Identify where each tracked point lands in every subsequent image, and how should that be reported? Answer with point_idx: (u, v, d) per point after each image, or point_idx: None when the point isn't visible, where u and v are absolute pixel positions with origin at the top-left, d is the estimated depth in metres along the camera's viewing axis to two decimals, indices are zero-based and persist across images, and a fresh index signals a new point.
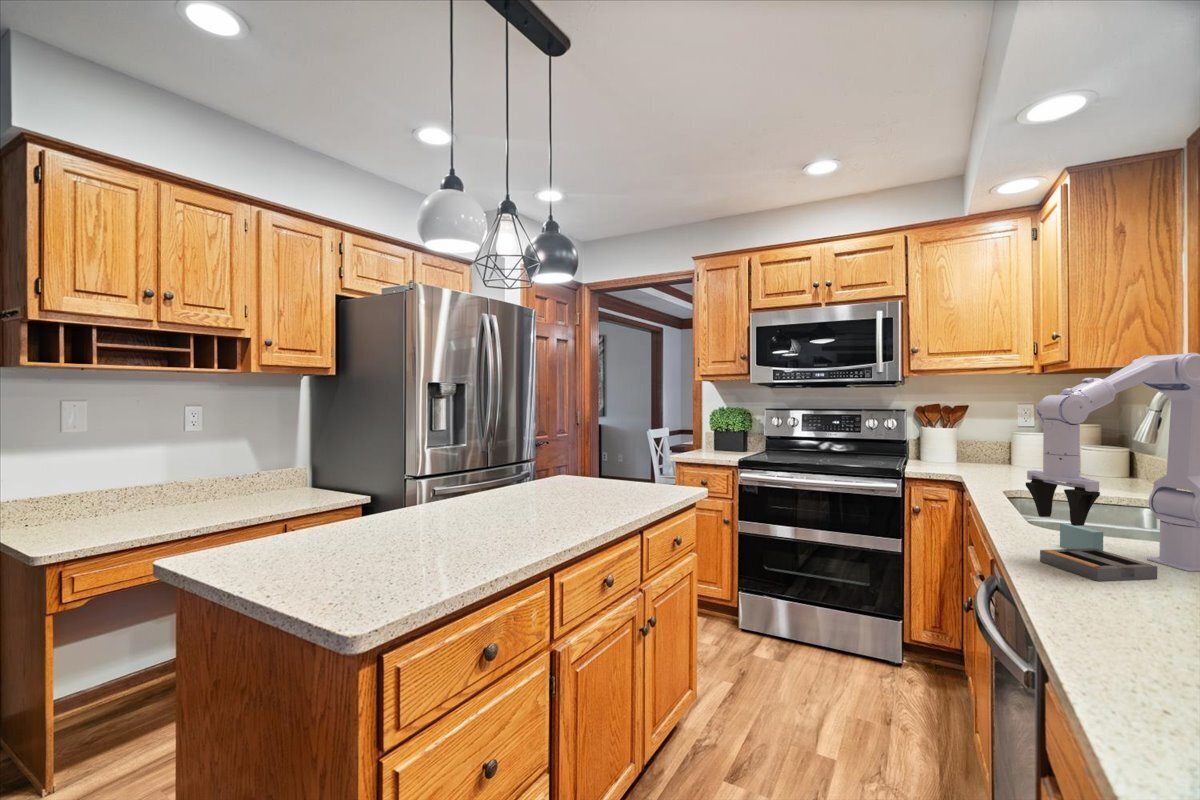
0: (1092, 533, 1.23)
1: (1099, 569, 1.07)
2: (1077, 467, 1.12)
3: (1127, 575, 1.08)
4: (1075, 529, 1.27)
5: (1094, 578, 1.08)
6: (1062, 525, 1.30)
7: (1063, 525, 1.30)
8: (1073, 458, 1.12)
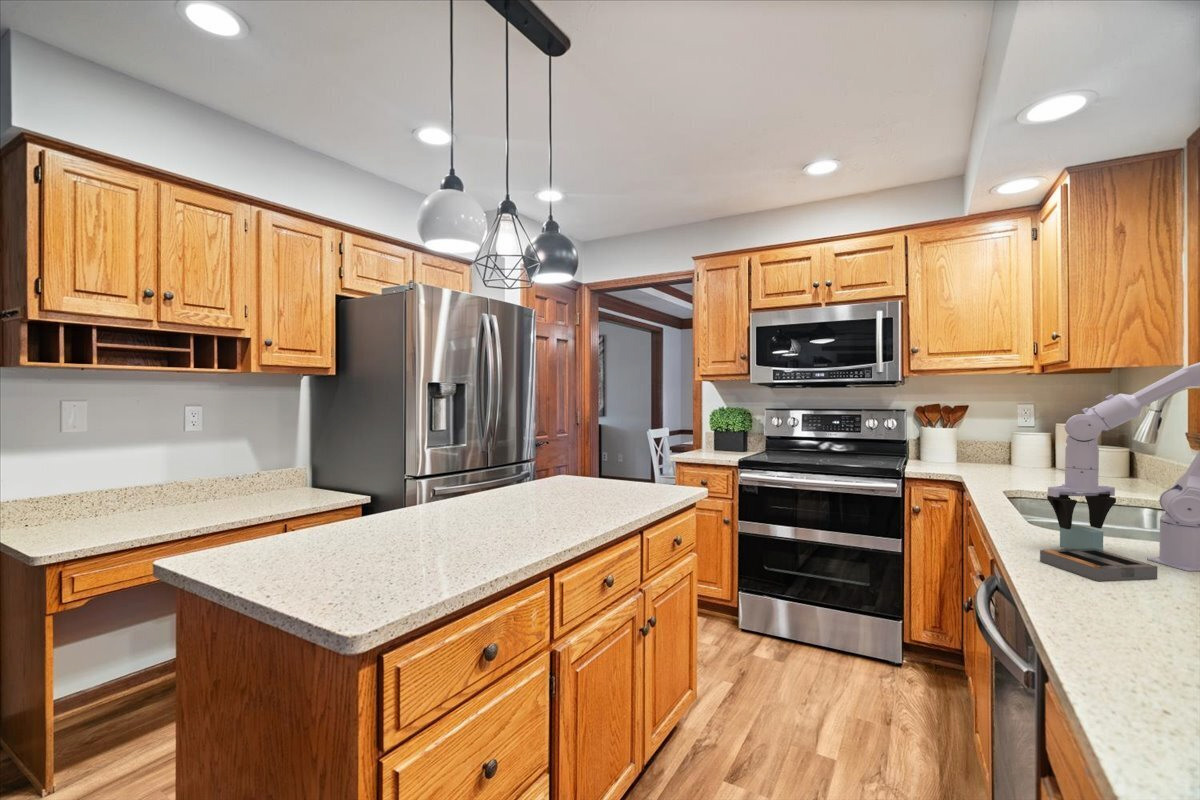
0: (1092, 533, 1.23)
1: (1099, 569, 1.07)
2: (1074, 479, 1.26)
3: (1127, 575, 1.08)
4: (1075, 529, 1.27)
5: (1094, 578, 1.08)
6: None
7: None
8: (1069, 470, 1.26)
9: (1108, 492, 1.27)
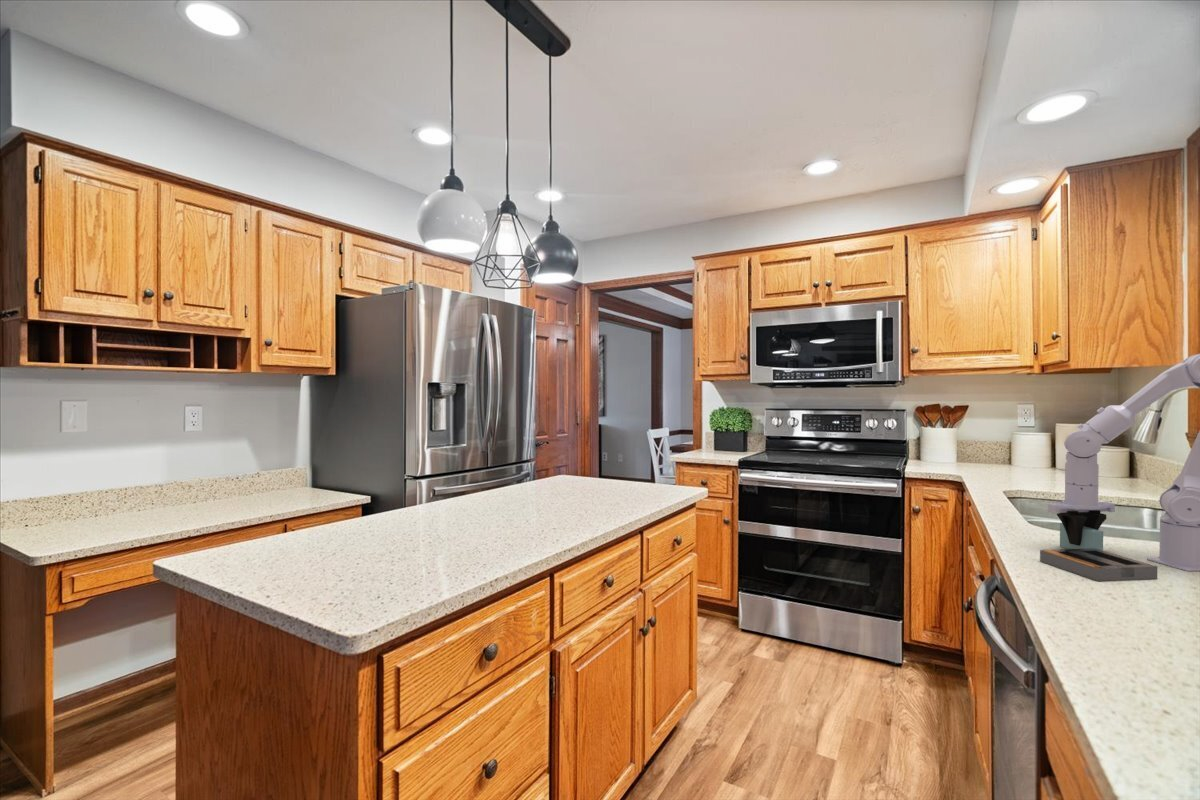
0: (1092, 532, 1.23)
1: (1099, 569, 1.07)
2: (1074, 495, 1.26)
3: (1127, 575, 1.08)
4: None
5: (1094, 578, 1.08)
6: (1062, 525, 1.30)
7: None
8: (1069, 486, 1.27)
9: (1108, 508, 1.27)
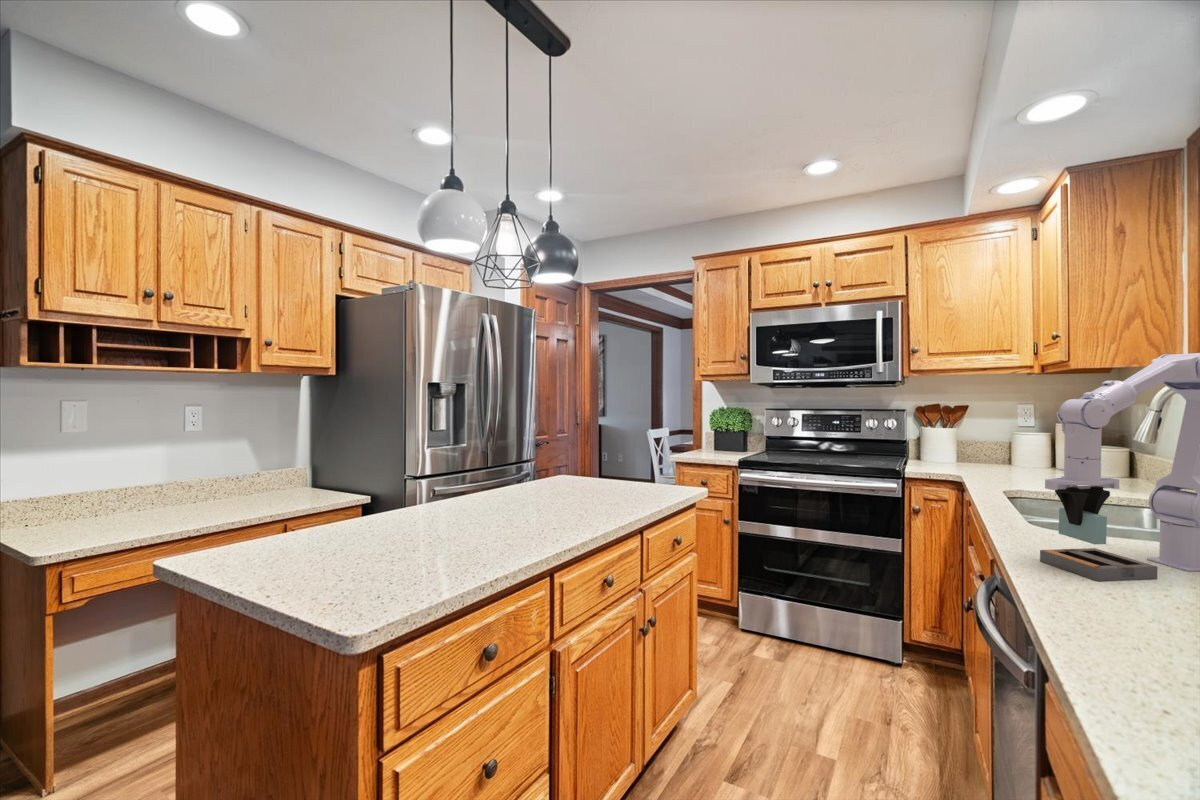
0: (1094, 518, 1.11)
1: (1099, 569, 1.07)
2: (1074, 470, 1.14)
3: (1127, 575, 1.08)
4: None
5: (1094, 578, 1.08)
6: (1062, 509, 1.18)
7: (1063, 509, 1.18)
8: (1069, 460, 1.15)
9: (1112, 485, 1.15)
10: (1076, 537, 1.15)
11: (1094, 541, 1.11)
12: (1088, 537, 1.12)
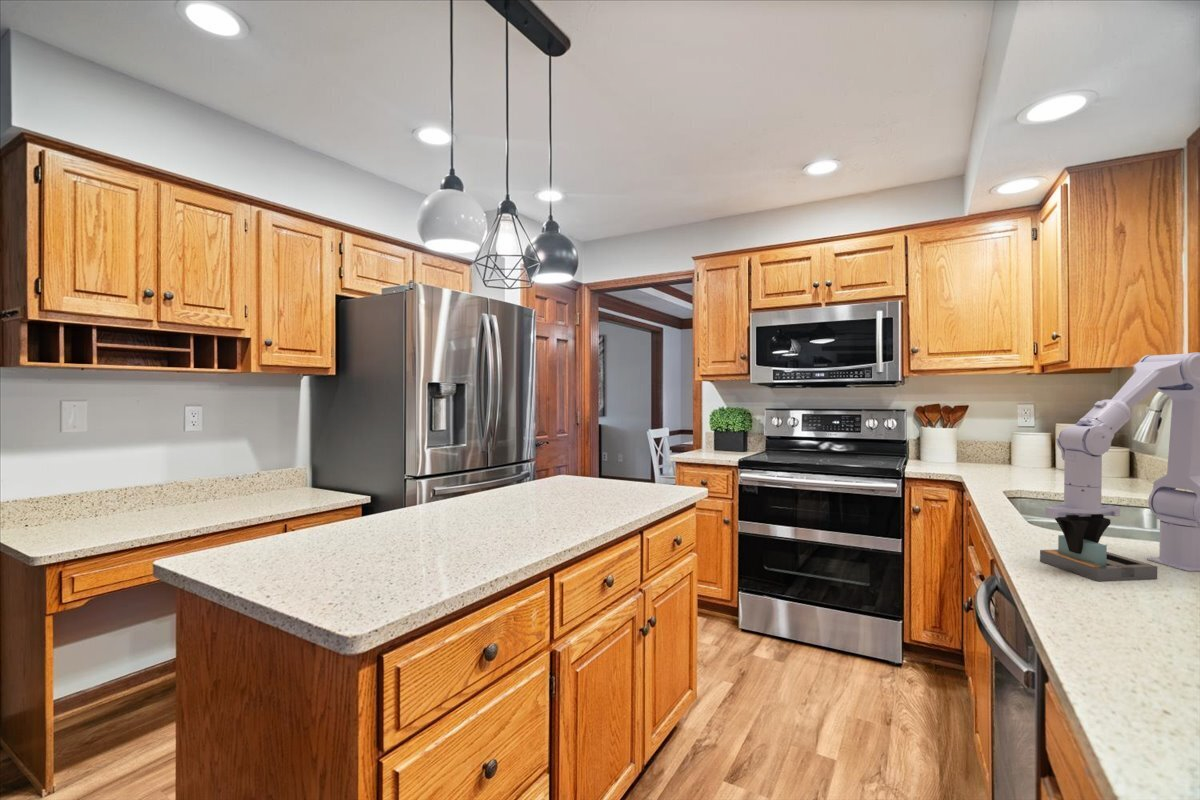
0: (1094, 547, 1.10)
1: (1099, 569, 1.07)
2: (1074, 498, 1.12)
3: (1127, 575, 1.08)
4: None
5: (1094, 578, 1.08)
6: (1061, 537, 1.17)
7: (1062, 537, 1.17)
8: (1069, 488, 1.13)
9: (1112, 512, 1.14)
10: None
11: None
12: None
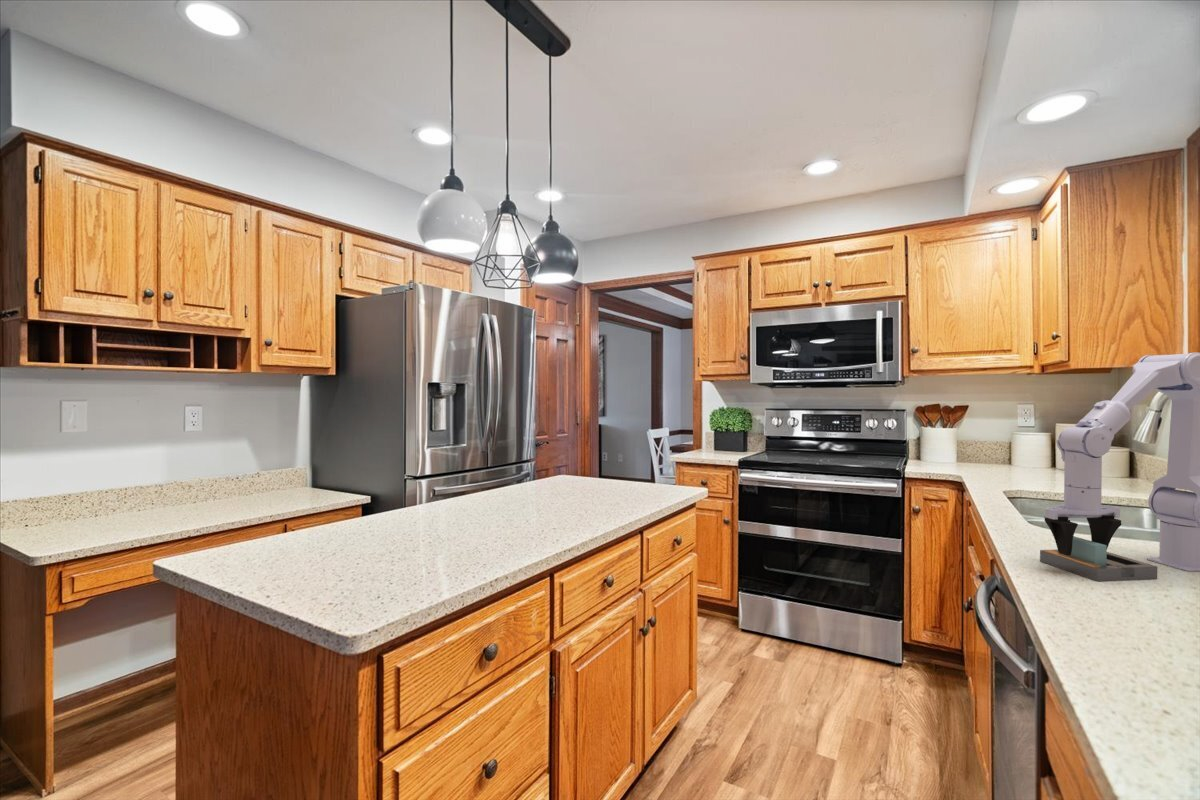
0: (1094, 547, 1.10)
1: (1099, 569, 1.07)
2: (1074, 499, 1.12)
3: (1127, 575, 1.08)
4: (1075, 542, 1.14)
5: (1094, 578, 1.08)
6: None
7: None
8: (1069, 489, 1.13)
9: (1112, 513, 1.14)
10: None
11: None
12: None
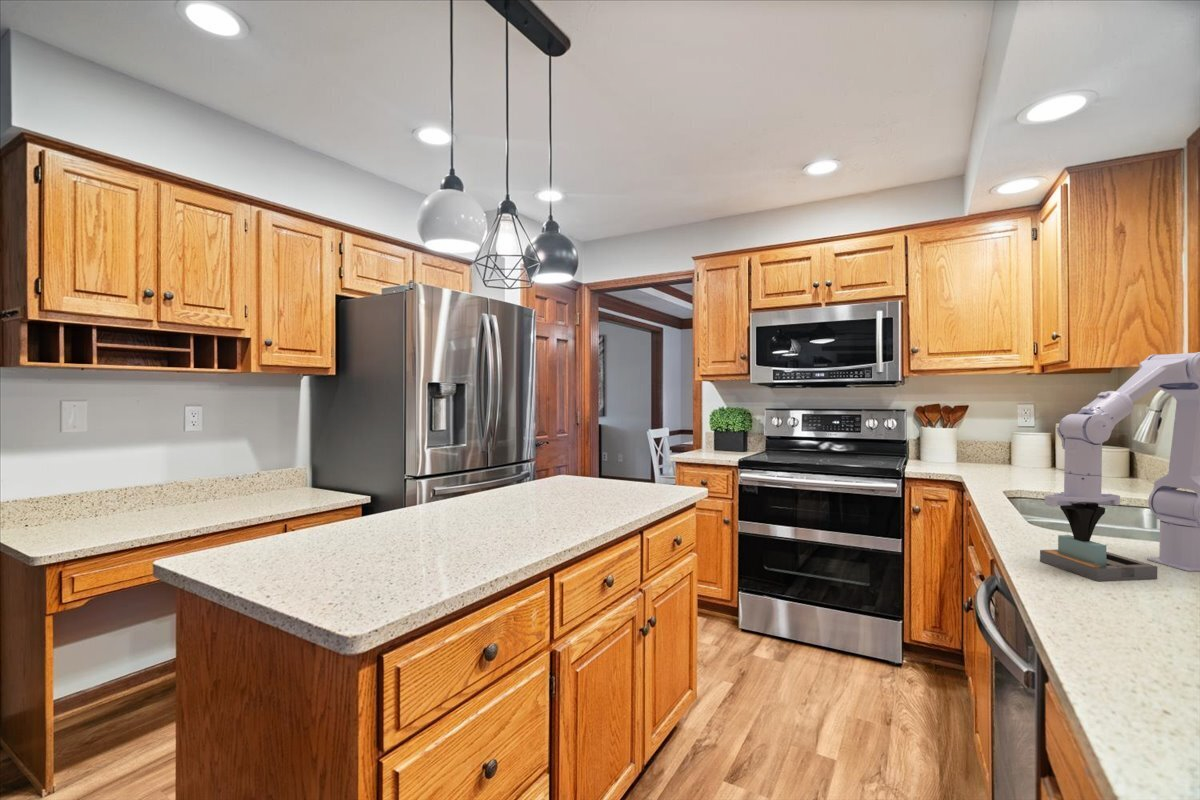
0: (1094, 547, 1.10)
1: (1099, 569, 1.07)
2: (1074, 486, 1.12)
3: (1127, 575, 1.08)
4: (1075, 542, 1.14)
5: (1094, 578, 1.08)
6: (1061, 537, 1.17)
7: (1062, 537, 1.17)
8: (1069, 476, 1.13)
9: (1112, 501, 1.14)
10: None
11: None
12: None
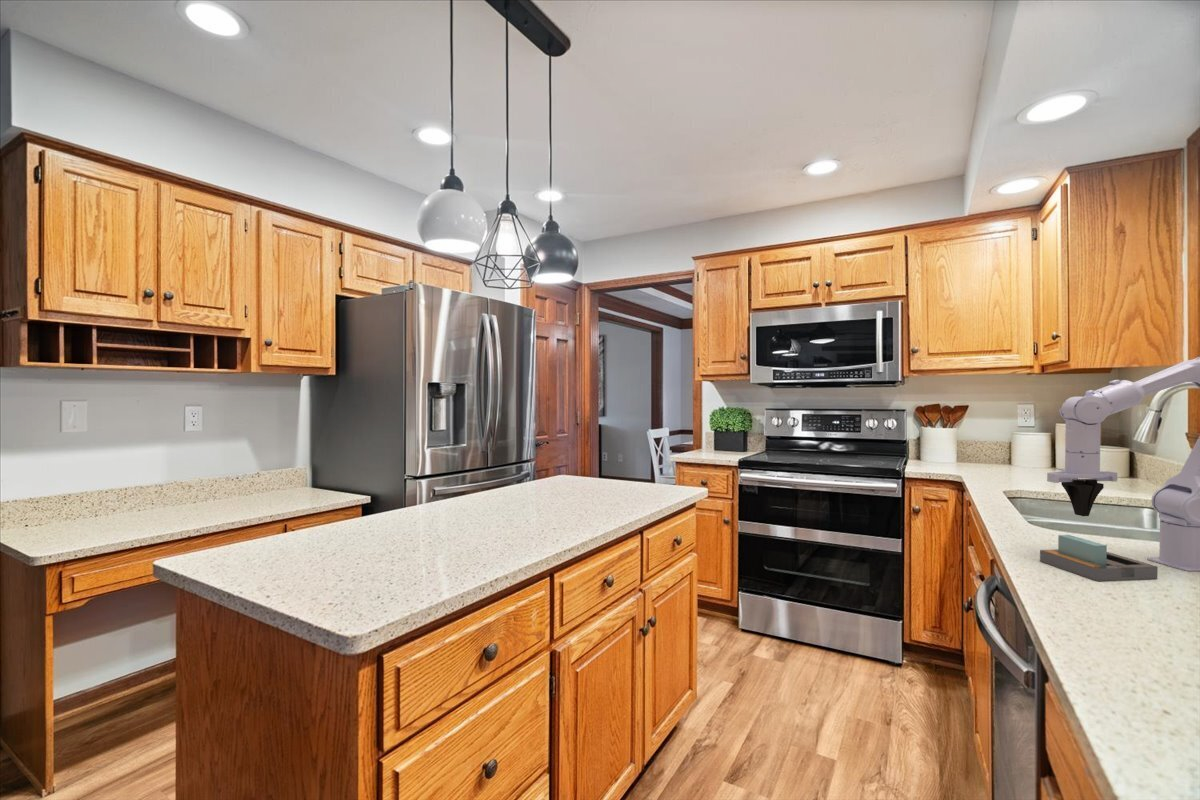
0: (1094, 547, 1.10)
1: (1099, 569, 1.07)
2: (1074, 464, 1.20)
3: (1127, 575, 1.08)
4: (1075, 542, 1.14)
5: (1094, 578, 1.08)
6: (1061, 537, 1.17)
7: (1062, 537, 1.17)
8: (1070, 454, 1.21)
9: (1110, 478, 1.21)
10: None
11: None
12: None
